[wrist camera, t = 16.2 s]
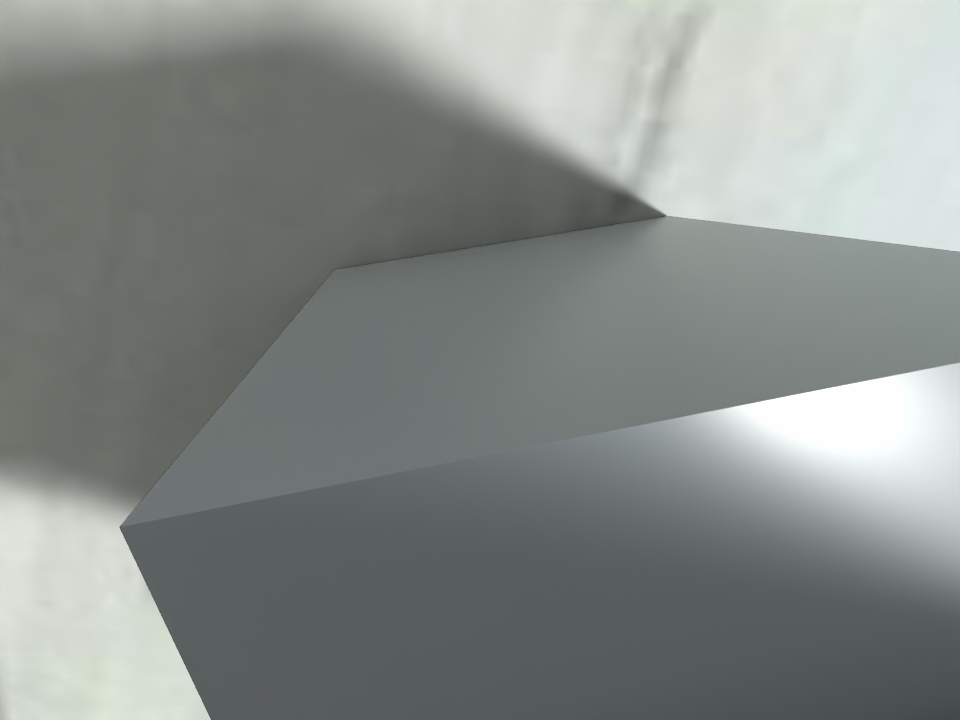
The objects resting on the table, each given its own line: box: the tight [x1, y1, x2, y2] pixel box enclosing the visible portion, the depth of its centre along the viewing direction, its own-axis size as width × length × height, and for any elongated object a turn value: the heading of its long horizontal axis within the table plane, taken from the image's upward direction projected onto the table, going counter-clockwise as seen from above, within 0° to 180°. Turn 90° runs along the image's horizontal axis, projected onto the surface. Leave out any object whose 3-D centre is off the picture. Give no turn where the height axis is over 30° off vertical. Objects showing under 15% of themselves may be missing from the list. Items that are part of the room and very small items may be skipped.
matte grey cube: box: [120, 216, 960, 720], centre depth 9 cm, size 8×8×9 cm
